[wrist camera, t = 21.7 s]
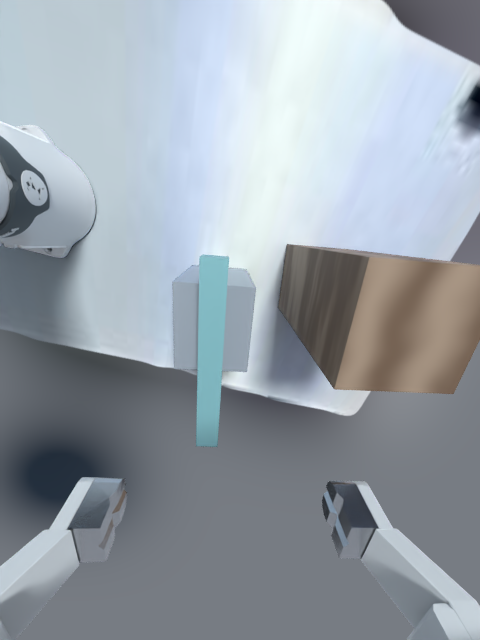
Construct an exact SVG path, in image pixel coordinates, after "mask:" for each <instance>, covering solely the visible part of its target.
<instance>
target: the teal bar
mask: <svg viewBox="0 0 480 640" xmlns="http://www.w3.org/2000/svg"><path fill="white" fill-rule="evenodd" d="M228 265H229V257H227V256H214V255H202V256H200V262H199V317H198V372H197V428H196V446H210V447H217V445H218V428H219V412H220V396H221V380H222V363H223V347H224V331H225V314H226V298H227V282H228Z"/></svg>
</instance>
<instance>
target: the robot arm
mask: <svg viewBox="0 0 480 640" xmlns="http://www.w3.org/2000/svg"><path fill="white" fill-rule="evenodd" d="M95 213H96V204H95V197H94V193H93V190H92V187H91V185H90V183H89V181H88V179H87V177H86V176H85V174H84V173H83V171H82V170H81V169H80V168H79V166H78V165H77V164H76V163H75V162H74V161H73V160H72V159H70V158H69V157H68V156H67V155H65V154H64V153H63V152H61V151H60V150H59V149H58V148H57V147H56V146H55V144H54V143H53V141H52V140H51V138H50V137H49V136H48V134H47V133H46V132H45V131H44V130H43V129H42V128H40V127H37V126H35V125H25V126H16V127H13V126H11V125H9V124H6V123H4V122H1V121H0V246H1V245H2V244H4V246H5V247H7V248H21V249H25V250H29V251H33V252H36V253H40V254H44V255H48V256H52V257H56V258H64V257H66V256H67V254H68V253H69V251H70V249H71V247H72V245H73V244H74V243H76V242H77V241H79V240H80V239H82V238H83V237H84V236H85V235H86V234H87V233H88V232H89V230H90V229H91V227H92V225H93V222H94V219H95ZM50 248H52V251H51V250H50ZM125 485H126V483H125V478H97V477H83V478H81V479H80V480H79V482H78V483H77V484H76V486H75V488H74V489H73V491H72V492H71V494H70V496H69V497H68V499H67V501H66V502H65V504H64V506H63V507H62V509H61V510H60V512H59V514H58V515H57V517H56V519H55V520H54V522H53V524H52V525H51V527H50V529H49V530H43V531H42V532H41V533H40V534H39V535H37V536H36V537H35V538H34V539H33V540H31V541H30V542H29V543H28V544H27V545H25V546H24V547H23V548H22V549H21V550H19V551H18V552H17V553H16V554H15V555H14V556H12V557H11V558H10V559H9V560H7V561H6V562H5V563H4V564H3V565H2V566H0V640H16V638H17V637H18V636H19V635H20V634H21V633H22V631H23V630H24V629H25V628H26V627H27V626H28V624H29V623H30V622H31V621H32V620H33V619H34V617H35V616H36V615H37V614H38V613H39V612H40V610H41V609H42V608H43V607H44V606H45V604H46V603H47V602H48V601H49V600H50V599H51V598H52V596H53V595H54V594H55V593H56V592H57V590H58V589H59V588H60V587H61V586H62V585H63V583H64V582H65V581H66V580H67V579H68V578H69V576H70V575H71V574H72V573H73V571H74V570H75V569H76V568H77V567H78V566H79V563H83V562H103V561H106V560H107V558H108V555H109V552H110V549H111V546H112V544H113V542H114V539H115V532H114V529H115V528H116V526H117V525H118V524H119V523H120V522H121V520H122V517H123V514H124V511H125V507H126V502H127V492H126V491H125V490H124V487H125ZM326 488H327V490H328V491H327V492H326V493H325V494H324V495H323V499H322V508H323V513H324V516H325V519H326V522H327V523H328V524H329V525H330V527H331V528H332V534H331V537H332V540H333V542H334V545H335V548H336V551H337V553H338V557H339V558H351V559H361V561H362V562H363V564H364V565H365V566H366V567H367V569H368V570H369V571H370V573H371V574H372V575H373V576H374V578H375V579H376V580H377V581H378V583H379V584H380V585H381V587H382V588H383V589H384V590H385V592H386V593H387V594H388V595H389V597H390V598H391V599H392V601H393V602H394V603H395V605H396V606H397V607H398V608H399V609H400V611H401V612H402V614H403V615H404V616H405V617H406V618H407V620H408V621H409V623H410V624H411V625H412V626H413V628H414V630H413V632H412V633H411V634H410V636H409V637H408V638H407V640H480V606H479V604H478V603H477V601H476V600H475V599H474V598H472V597H471V596H470V595H469V594H468V593H467V592H466V591H465V590H464V589H462V588H461V587H460V586H459V585H458V584H457V583H456V582H455V581H454V580H453V579H452V578H450V577H449V576H448V575H447V574H446V573H445V572H444V571H443V570H442V569H440V568H439V567H438V566H437V565H436V564H435V563H434V562H433V561H432V560H431V559H430V558H428V557H427V556H426V555H425V554H424V553H423V552H422V551H421V550H420V549H418V548H417V547H416V546H415V545H414V544H413V543H412V542H411V541H410V540H409V539H408V538H406V537H405V536H404V535H403V534H402V533H401V532H400V531H399V530H398V529H393V527H392V526H391V524H390V522H389V521H388V519H387V517H386V515H385V514H384V512H383V510H382V508H381V507H380V505H379V503H378V501H377V499H376V498H375V496H374V494H373V493H372V491H371V489H370V487H369V486H368V484H367V483H366V482H363V481H329V482H328V483H327V485H326Z"/></svg>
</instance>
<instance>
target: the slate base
mask: <svg viewBox="0 0 480 640" xmlns="http://www.w3.org/2000/svg"><path fill="white" fill-rule="evenodd" d="M172 283H173V331H174V369H191V370H198V317H199V266H198V265H192V266H191V267H189V268H188V269H187V270H186V271H185V272H183V273H182V274H181V275H180V276H179V277H177V278H176V279H175V280H174V281H173V282H172ZM255 292H256V287H255V285H254V283H253V281H252V279H251V277H250V275H249V273H248V271H247V269H238V268H228V282H227V298H226V314H225V331H224V347H223V363H222V371H237V372H247V367H248V357H249V348H250V339H251V329H252V320H253V310H254V301H255Z"/></svg>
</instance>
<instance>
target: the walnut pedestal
mask: <svg viewBox="0 0 480 640" xmlns="http://www.w3.org/2000/svg"><path fill="white" fill-rule="evenodd" d="M278 308H279V309H280V311H281V312H282V314H283V315H284V317H285V318H286V320H287V321H288V323H289V324H290V325H291V327H292V328H293V330H294V331H295V333H296V334H297V336H298V337H299V339H300V340H301V342H302V343H303V344H304V346H305V347H306V349H307V350H308V352H309V353H310V355H311V356H312V358H313V359H314V361H315V362H316V363H317V365H318V366H319V368H320V369H321V371H322V372H323V374H324V375H325V377H326V378H327V379H328V381H329V382H330V384H331V385H332V387H333V388H334V389H340V390H365V391H392V392H418V393H442V394H454V392H455V390H456V387H457V385H458V383H459V381H460V379H461V377H462V375H463V373H464V371H465V369H466V367H467V365H468V362H469V361H470V359H471V357H472V355H473V353H474V350H475V349H476V346H477V344H478V342H479V340H480V265H475V264H467V263H458V262H450V261H442V260H433V259H425V258H416V257H408V256H400V255H391V254H383V253H374V252H366V251H358V250H349V249H337V248H325V247H313V246H302V245H290V244H287V248H286V255H285V262H284V269H283V276H282V283H281V290H280V297H279V303H278Z"/></svg>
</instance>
